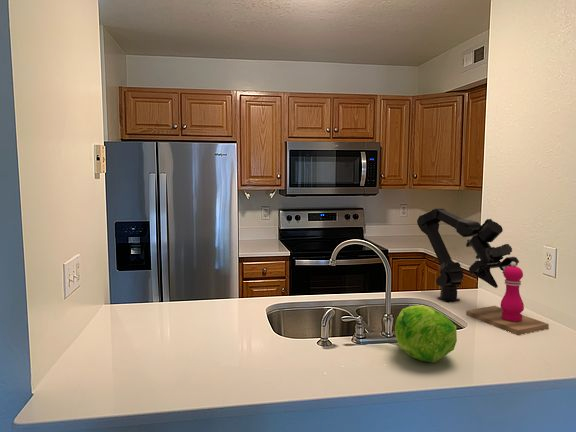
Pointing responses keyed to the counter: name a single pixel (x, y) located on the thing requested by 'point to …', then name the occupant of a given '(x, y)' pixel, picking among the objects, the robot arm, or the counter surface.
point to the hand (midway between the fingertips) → (506, 285)
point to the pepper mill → (512, 294)
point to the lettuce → (425, 333)
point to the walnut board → (494, 318)
